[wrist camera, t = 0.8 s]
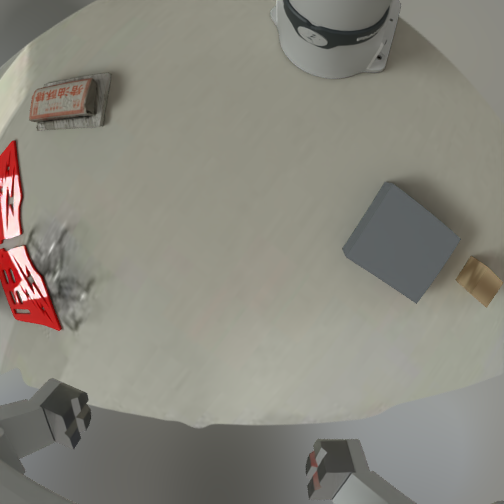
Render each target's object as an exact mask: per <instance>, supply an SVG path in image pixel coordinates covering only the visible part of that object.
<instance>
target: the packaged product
mask: <svg viewBox="0 0 504 504" xmlns="http://www.w3.org/2000/svg"><path fill="white" fill-rule="evenodd" d="M110 80H111V74H110V73H104V74H96V75H90V76H84V77H78V78H72V79H69V80H62V81H58V82H53V83H49V84H45V85H44V87H43V88H40V89H37V90H36V91H35V92H34V95H33V96H32V101H31V108H30V115H29V120H30V121H33V122H37V127H36V128H37V131H42V130H51V129H71V128H94V127H100V126H103V122H104V115H105V109H106V103H107V97H108V92H109V86H110Z"/></svg>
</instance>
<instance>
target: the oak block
mask: <svg viewBox="0 0 504 504" xmlns="http://www.w3.org/2000/svg"><path fill="white" fill-rule="evenodd" d="M456 281H457V282H458V283H459V284H460V285H462V286H463V287H464V288H465V289H466V290H467V291H468V292H469V293H470V294H471V295H473V296H474V297H475V298H476V299H477V300H478V301H479V302H481V303H482V304H483V305H484V306H485V307H486V308H487V306H488V305H489V303H490V302H491V301H492V299H493V298H494V296H495V295H496V293H497V292H498V290H499V289H500V287H501V286H502V284H503V282H502V281H501V280H500V279H499V278H498V277H497V276H496V275H495V274H494V273H493V272H492V271H491V270H490V269H489V268H488V267H487V266H486V265H484V264H483V263H481V262H480V261H478V260H477V259H475V258H474V257H472V256H471V257H470V258H469V260H468V261H467V263H466V265H465V266H464V268H463V269H462V271H461V272H460V274H459V275H458V277H457V278H456Z"/></svg>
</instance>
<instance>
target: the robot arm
mask: <svg viewBox="0 0 504 504" xmlns="http://www.w3.org/2000/svg"><path fill="white" fill-rule="evenodd" d="M400 8H401V3H400V1H399V0H276V6H275V7H273V8H272V9H271V12H270V16H271V19H272V20H273V22H274V23H275V25H276V26H277V28H278V32H279V40H280V44H281V47H282V49H283V51H284V53H285V54H286V56H287V57H288V58H289V59H290V61H291V62H293V63H294V64H295V65H296V66H297V67H299V68H300V69H302V70H303V71H305V72H307V73H310V74H312V75H315V76H318V77H322V78H330V79H338V78H346V77H349V76H352V75H355V74H358V73H361V72H372V73H378V72H381V71H383V70H384V68H385V65H386V62H387V58H388V55H389V51H390V47H391V44H392V40H393V36H394V32H395V28H396V25H397V21H398V17H399V13H400ZM377 56H379V57H380V58H381V60H379V59H377ZM87 402H88V395H87V393H85V392H84V391H81V390H79V389H76V388H74V387H72V386H70V385H67V384H65V383H63V382H60V381H58V380H56V379H54V378H52V379H49V380H48V381H47V382H46V383H45V384H44V385H43V386H42V387H41V388H40V389H39V391H37V392H36V393H35V395H34V396H33V397H32V398H31V399H30V400H29V401H28V400H26V399H25V400H21V401H17V402H13V403H9V404H5V405H1V406H0V504H77V503H74V502H72V501H70V500H68V499H66V498H64V497H62V496H60V495H58V494H56V493H54V492H53V491H51V490H49V489H47V488H45V487H43V486H41V485H40V484H38V483H36V482H35V481H33V480H31V479H30V478H28V477H26V476H25V475H24V473H25V468H24V467H23V465H22V463H21V462H20V460H19V459H20V458H23V457H25V456H27V455H29V454H31V453H33V452H36V451H38V450H40V449H42V448H44V447H46V446H48V445H50V444H52V443H54V441H55V442H57V443H59V444H62V445H64V446H66V447H69V448H71V449H74V448H75V447H76V445H77V444H78V442H79V441H80V439H81V436H80V433H81V432H84V431H86V430H87V428H88V426H89V424H90V420H91V409H90V408H89V406H88V405H87V404H86V403H87ZM313 447H314V451H313V452H311V453H310V454H309V456H308V458H307V462H306V476H307V478H309V479H310V482H309V484H308V485H307V488H308V496H309V500H332V501H333V503H334V504H416V503H415V502H414V501H412V500H411V499H410V498H408V497H407V496H405V495H404V494H403V493H401V492H400V491H399V490H397V489H396V488H394V487H393V486H392V485H391V484H389V483H388V482H387V481H386V480H384V479H383V478H382V477H380V476H379V475H378V474H376V473H375V472H374V471H371V472H370V470H369V467H368V464H367V461H366V458H365V455H364V452H363V449H362V446H361V443H360V441H359V440H358V439H345V440H344V439H317V440H316V442H315V443H314V446H313ZM492 504H504V501H497V502H494V503H492Z"/></svg>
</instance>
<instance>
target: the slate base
mask: <svg viewBox="0 0 504 504" xmlns="http://www.w3.org/2000/svg"><path fill="white" fill-rule="evenodd" d="M460 240H461V239H460V238H459V237H458V236H457V235H456V234H455V233H454V232H453V231H451V230H450V229H449V228H448V227H447V226H446V225H444V224H443V223H442V222H441V221H440V220H439V219H437V218H436V217H435V216H434V215H433V214H431V213H430V212H429V211H428V210H426V209H425V208H424V207H423V206H422V205H420V204H419V203H418V202H416V201H415V200H414V199H413V198H411V197H410V196H409V195H407V194H406V193H405V192H404V191H402V190H401V189H400V188H398V187H397V186H396V185H394V184H392V183H388V182H385V183H384V184H383V186H382V188H381V189H380V191H379V192H378V194H377V196H376V197H375V199H374V201H373V202H372V204H371V205H370V207H369V208H368V210H367V212H366V213H365V215H364V216H363V218H362V219H361V221H360V223H359V224H358V226H357V227H356V229H355V230H354V232H353V233H352V235H351V236H350V238H349V239H348V241H347V242H346V244H345V245H344V247H343V248H342V250H343V252H344V254H345V256H346V257H347V258H348V259H350V260H351V261H353V262H354V263H356V264H358V265H359V266H361V267H362V268H364V269H365V270H367V271H368V272H370V273H371V274H373V275H375V276H376V277H378V278H379V279H381V280H382V281H384V282H385V283H387V284H388V285H390V286H391V287H393V288H394V289H396V290H397V291H399V292H400V293H402V294H403V295H405V296H406V297H407V298H409V299H410V300H412V301H413V302H415V303H416V304H417V302H418V301H419V300H420V298H421V297H422V296H423V294H424V293H425V292H426V290H427V289H428V288H429V286H430V285H431V283H432V282H433V281H434V279H435V278H436V276H437V275H438V273H439V272H440V271H441V269H442V268H443V266H444V265H445V263H446V262H447V260H448V259H449V257H450V256H451V254H452V252H453V251H454V249H455V248H456V246H457V245H458V243H459V241H460Z"/></svg>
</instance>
